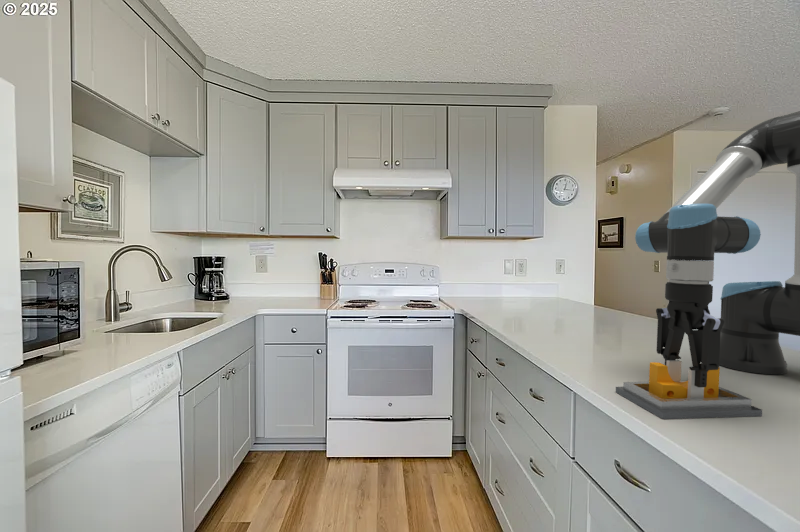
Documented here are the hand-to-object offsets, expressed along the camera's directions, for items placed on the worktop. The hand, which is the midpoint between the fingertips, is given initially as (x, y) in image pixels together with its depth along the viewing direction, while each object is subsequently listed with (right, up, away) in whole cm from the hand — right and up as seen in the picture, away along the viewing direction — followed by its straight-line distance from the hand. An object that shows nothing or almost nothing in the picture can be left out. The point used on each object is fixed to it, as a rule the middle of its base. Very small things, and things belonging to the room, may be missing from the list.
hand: (683, 396), depth 75 cm
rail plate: (0, -2, 0) cm, 2 cm away
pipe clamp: (0, -1, 0) cm, 1 cm away
